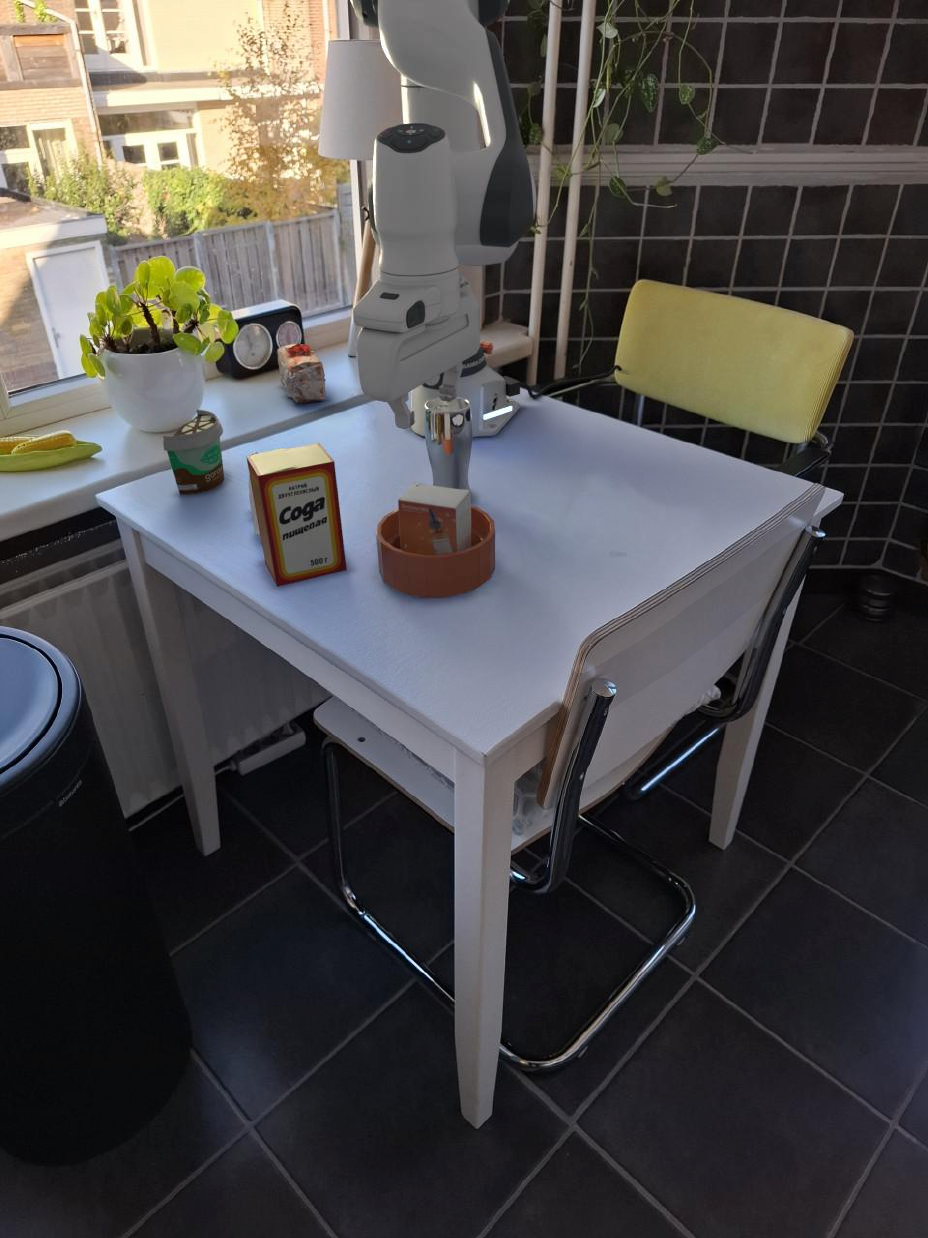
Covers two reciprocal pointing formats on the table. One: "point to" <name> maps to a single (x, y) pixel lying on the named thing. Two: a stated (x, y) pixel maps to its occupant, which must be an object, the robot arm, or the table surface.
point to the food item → (301, 373)
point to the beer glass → (449, 441)
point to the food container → (196, 454)
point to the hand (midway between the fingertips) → (427, 412)
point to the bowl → (437, 560)
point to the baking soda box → (298, 512)
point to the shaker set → (253, 507)
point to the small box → (434, 519)
